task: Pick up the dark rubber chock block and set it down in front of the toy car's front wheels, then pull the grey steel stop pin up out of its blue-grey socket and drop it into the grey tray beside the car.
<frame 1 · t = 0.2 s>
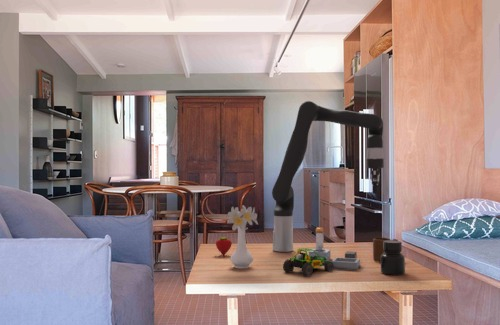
hand: (375, 193, 213), 29 cm above the table, tool pointing down, fingers open, 8 cm apart
pin: (319, 243, 204), in the socket
ink bottle: (392, 273, 176), on the table
tray: (345, 267, 187), on the table
flower vase: (242, 268, 188), on the table
strawberry: (223, 255, 217), on the table
socket: (319, 259, 204), on the table
mug: (386, 260, 202), on the table
chock: (350, 263, 196), on the table
motor vehicle: (308, 272, 180), on the table
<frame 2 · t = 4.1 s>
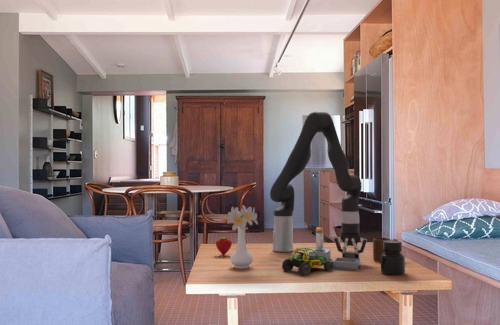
hand: (350, 262, 196), 0 cm above the table, tool pointing down, fingers closed on chock, 4 cm apart
chock: (350, 262, 196), on the table, touching gripper
when the fingers open (1 cm above the table, at t = 9.9 s): chock stays where it is, on the table.
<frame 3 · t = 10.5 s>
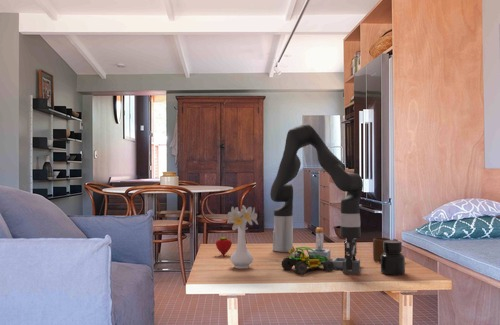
hand: (350, 267, 177), 2 cm above the table, tool pointing down, fingers open, 8 cm apart
chock: (351, 272, 177), on the table
motor vehicle: (307, 271, 183), on the table
everything else where it was.
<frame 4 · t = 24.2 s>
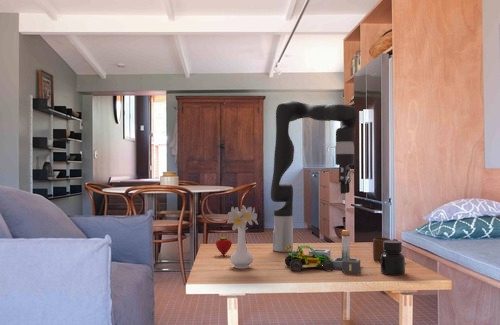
hand: (345, 193, 188), 30 cm above the table, tool pointing down, fingers open, 8 cm apart
pin: (345, 248, 187), in the tray, point 8 cm above the table
motor vehicle: (308, 269, 186), on the table
everything else where it was.
at the end: chock inside the target area on the table beside the motor vehicle (3.6 cm from its centre), on the table; pin inside the target area on the tray (0.1 cm from its centre), point 7.8 cm above the tray's base; the gripper is holding nothing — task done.
